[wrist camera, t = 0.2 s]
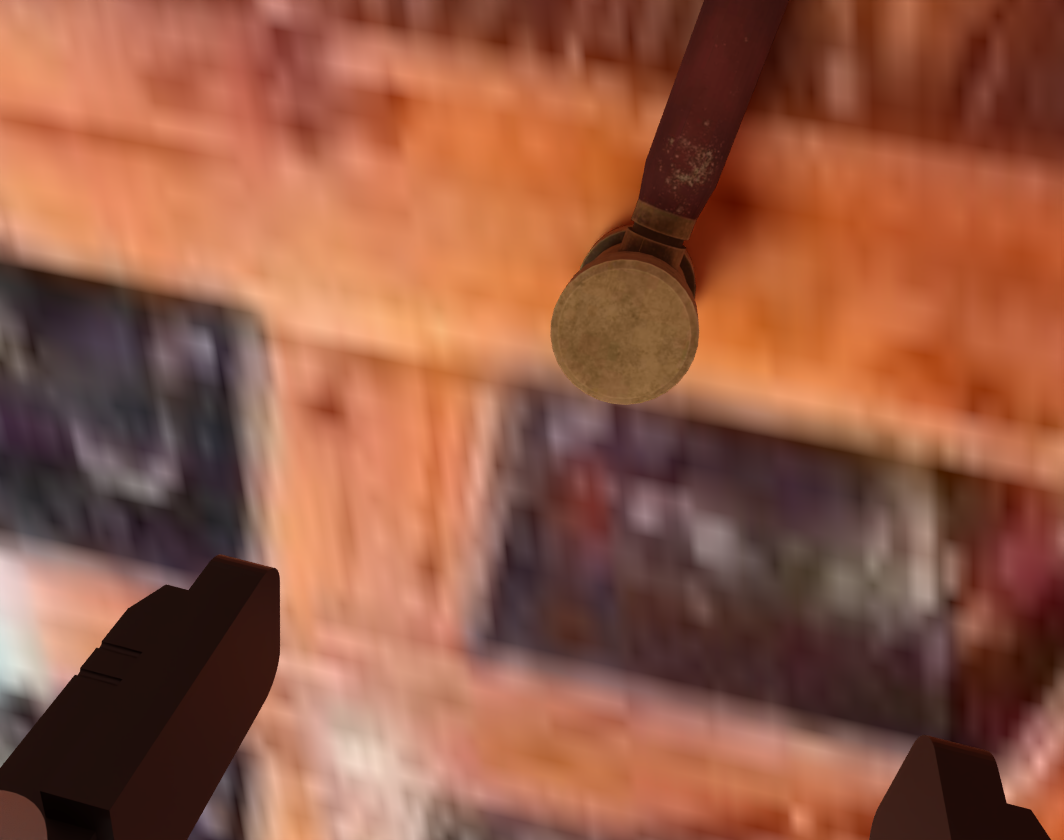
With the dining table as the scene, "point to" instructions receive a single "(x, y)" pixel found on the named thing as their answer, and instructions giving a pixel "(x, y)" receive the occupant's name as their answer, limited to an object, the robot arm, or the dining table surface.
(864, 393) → the dining table surface
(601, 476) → the dining table surface
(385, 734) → the dining table surface
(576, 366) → the gavel
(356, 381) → the dining table surface
